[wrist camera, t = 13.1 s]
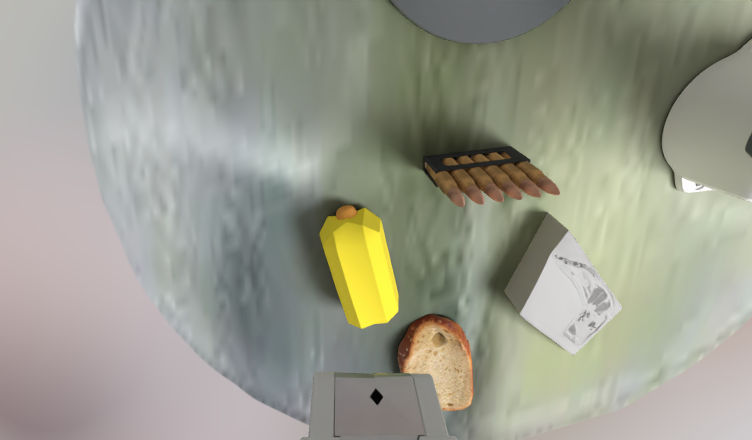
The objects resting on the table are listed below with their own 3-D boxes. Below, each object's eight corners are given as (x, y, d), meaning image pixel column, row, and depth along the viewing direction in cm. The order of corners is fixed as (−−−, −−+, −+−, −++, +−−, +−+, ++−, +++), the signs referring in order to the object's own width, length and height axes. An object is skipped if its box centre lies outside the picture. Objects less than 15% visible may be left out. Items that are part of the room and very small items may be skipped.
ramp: (617, 329, 60) (641, 355, 55) (526, 363, 61) (542, 391, 56) (598, 188, 47) (628, 205, 42) (484, 235, 48) (500, 257, 44)
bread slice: (457, 406, 64) (464, 427, 61) (367, 384, 59) (369, 405, 56) (516, 337, 58) (527, 355, 55) (421, 305, 53) (427, 323, 49)
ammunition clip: (512, 146, 42) (571, 183, 32) (510, 161, 43) (567, 202, 33) (422, 156, 42) (452, 197, 31) (423, 171, 43) (452, 216, 32)
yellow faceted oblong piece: (374, 192, 44) (312, 206, 44) (380, 217, 38) (309, 233, 38) (400, 303, 52) (348, 315, 52) (408, 338, 46) (350, 351, 46)
